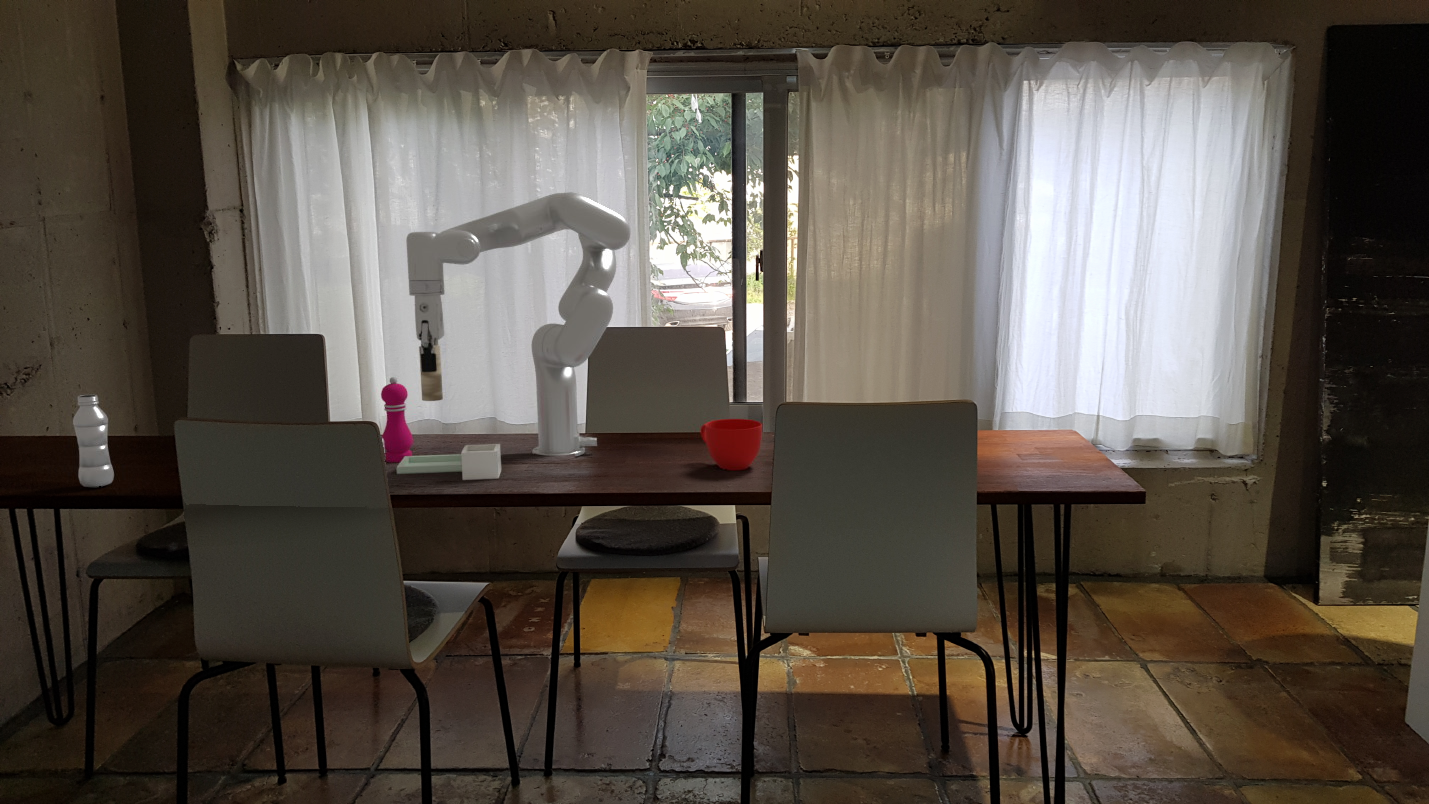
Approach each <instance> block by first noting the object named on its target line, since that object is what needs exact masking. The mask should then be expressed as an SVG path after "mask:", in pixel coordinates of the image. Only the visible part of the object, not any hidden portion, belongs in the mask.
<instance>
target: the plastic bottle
mask: <svg viewBox="0 0 1429 804" xmlns="http://www.w3.org/2000/svg"><path fill="white" fill-rule="evenodd" d="M99 404H100V403H99V396H98V394H83V395H78V396H77V406H79V408H78V410H77V411H76V413H75V414H74V416H73V420H72V424H73V429H74V432H75V436H76V439H77V440H76V441H77V444H78V445H77V446H78V451H79V453H78V454H79V456H78V457H79V467H78V477H77V478H78V480H79V483H80V485H82V486H83V487H85V488H100V487H99V486H101V487H103V486H104V487H105V486H107V485H108V486H109V485H110V484H112V482H113V481H114V477H115V473H114V469H113V465H112V463H111V459H110V458H111V457H110V453H109V447H108V431H109V429H108V428H109V418H108V416H107V414H106V413H105V412H104V410H102V409H101V408H100V407H99Z"/></svg>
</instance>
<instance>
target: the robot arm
mask: <svg viewBox="0 0 1429 804" xmlns="http://www.w3.org/2000/svg"><path fill="white" fill-rule="evenodd" d="M563 230H571V231H574V232H575V233H577V235H578V240H579V242H580V245H581V249H582V261H581V263H580V266H579V268H578V270H577V272H576V274H575V275H574V277H573V278H572V280H571V282H570V283H569V284H568V285H567V288H566V289H565V292H564V293H562V296H561V298H560V300H559V302H558V313H559V316H560V318H561V319H563V321H565V322H564V324H561V323H546V324H544V325H541V326H540V327H539V328H538V329H537V330H536V331H535V332H534V334H533V336H532V339H531V353H532V359H533V365H534V371H535V382H536V383H535V385H536V409H537V433H538V446H536V447H534V448H533V449H532V454H536V455H540V456H549V457H550V456H551V457H552V456H554V457H555V456H556V457H557V456H559V457H561V456H569V455H574V457H579V456H581V455H584V453H585V452H586V448H585V446H589V447H598V444H597V443H598V442H597V441H598V440H597V439H598V438H597V437H592V436H588V437H584V436H580V432H579V428H578V427H579V426H578V398H577V397H578V396H577V394H578V393H577V375H576V371H575V368H577V367H579V366H581V365H582V364H584V363H585V362H586V361H587V359H589V357H590V356H591V355H592V353H593V352H594V349H596V346H597V344H598V343H599V341H600V340H601V338H602V336H603V334H604V332H605V331H606V329H607V328H608V326H609V324H610V322H611V321H612V316H613V313H614V312H613V311H614V305H613V303H614V302H613V300H612V297H611V296H610V295H609V294H608V293H607V292H608V290H609V288H610V286H611V285H612V282H613V280H614V278H615V275H616V271H617V257H616V251H618V250H620V249H622V248H623V247H625V246H626V245H627V243H628V242H629V241H630V238H631V228H630V225H629V223H628V221H627V220H626V219H625V218H624V216H622V215H620V214H619V213H617V212H616V211H614V210H612V209H609V208H608V207H605V206H604V205H602V204H600V203H598V202H595V201H594V200H592V199H590V198H588V197H586V196H584V195H582V194H579V193H577V192H558V193H551V194H549V195H546V196H543V197H540V198H537V199H534V200H532V201H528V202H526V203H523V204H520V205H516V206H514V207H511V208H508V209H505V210H502V211H499V212H496V213H493V214H490V215H487V216H484V217H481V218H478V219H475V220H472V221H469V222H466V223H465V222H464V223H462V224H459V225H456V226H453V227H450V228H448V229H445V230H442V231H440V232H436V231H412V232H409V233H408V234H407V236H406V256H407V257H406V259H407V261H406V262H407V275H408V276H407V277H408V290H409V296H412V297H414V316H415V317H414V321H415V335H416V339H417V340H418V341H420V346H421V368H422V372H436V371H437V365H436V354H434V345H439V340H441V339H442V338H443V337H444V336H445V325H444V314H443V304H442V303H443V302H442V297H441V296H443V295H445V279H444V277H445V276H444V264H450V265H451V264H453V265H462V266H464V265H468V264H471V263H473V262H474V261H475V260H476V259H478V257H479V255H480V254H481V253H483V252H487V251H492V250H495V249H496V250H497V249H502V248H503V249H504V248H513V247H517V246H522V245H524V244H528V243H530V242H533V241H535V240H537V239H540V238H543V237H545V236H548V235H552V234H554V233H557V232H560V231H563Z"/></svg>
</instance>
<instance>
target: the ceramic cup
mask: <svg viewBox="0 0 1429 804" xmlns="http://www.w3.org/2000/svg"><path fill="white" fill-rule="evenodd" d="M700 435H701V438H702V440H703V442H704V443H705V444H706V447H707V449H708V452H709V454H710V456H711V458H712V459H713V461H714V462H715V463H716V465H717V466H718V467H719V468H720V469H721V468H722V470H725V469H727V470H726V471H741V470H742V471H743V470H746V469H748V468H749V467H750V465H752V463H753V462H754V460H755V459H756V458H757V456H758V454H759V451H760V448H761V445H762V436H763V423H762V422H760V421H757V420H754V419H745V418H725V419H723V418H722V419H717V420H716V419H715V420H710V421H707V422H706V423H704V424H703V425H702V426H701V427H700Z"/></svg>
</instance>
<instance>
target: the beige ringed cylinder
mask: <svg viewBox="0 0 1429 804" xmlns="http://www.w3.org/2000/svg"><path fill="white" fill-rule="evenodd" d="M418 349H419V350H418V351H419V369H420V370H419V371H420V383H421V384H420V385H421V389H420V390H421V400H422V401H425V402H437V401H442V400H443V398H444V397H443V379H442V360H441V359H442V357H441V345H439V344H438V345H434V354H436V365H437V371H436V372H422V368H421V345H420V346H418Z"/></svg>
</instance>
